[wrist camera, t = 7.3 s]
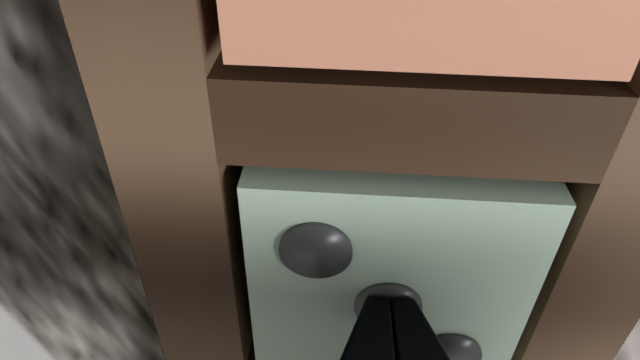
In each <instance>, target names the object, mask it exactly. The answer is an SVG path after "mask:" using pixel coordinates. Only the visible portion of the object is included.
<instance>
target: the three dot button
mask: <svg viewBox="0 0 640 360" xmlns="http://www.w3.org/2000/svg"><path fill="white" fill-rule="evenodd" d="M237 194H238V204H239V213H240V222H241V231H242V240H243V250H244V259H245V268H246V277H247V286H248V296H249V305H250V314H251V323H252V332H253V342H254V351H255V360H340V357H341V355H342V353H343V350H344V348H345V346H346V343H347V341H348V338H349V336H350V334H351V331H352V329H353V327H354V324H355V322H356V320H357V317H358V315H359V312H360V310H361V308H362V305H363V303H364V301H365V298H366V297H367V296H368V295H383V296H388V297H389V298H390V299H391V298H392V297H394V296H399V297H411V298H414V299H415V300H416V302H417V303H418V305H419V307H420V308H421V310H422V312H423V313H424V315H425V317H426V318H427V320H428V322H429V324H430V325H431V327H432V329H433V330H434V332H435V334H436V336H437V337H438V339H439V341H440V342H441V344H442V346H443V348H444V349H445V351H446V353H447V354H448V356H449V358H450V359H451V360H511V358H512V356H513V353H514V351H515V349H516V346H517V344H518V342H519V339H520V337H521V335H522V332H523V330H524V328H525V325H526V323H527V321H528V318H529V316H530V314H531V311H532V309H533V307H534V304H535V302H536V300H537V297H538V295H539V293H540V290H541V288H542V286H543V283H544V281H545V279H546V276H547V274H548V272H549V269H550V267H551V264H552V262H553V260H554V257H555V255H556V253H557V250H558V248H559V246H560V243H561V241H562V239H563V236H564V234H565V232H566V229H567V227H568V225H569V222H570V220H571V218H572V215H573V213H574V211H575V208H576V204H575V202H574V200H573V198H572V196H571V194H570V192H569V190H568V188H567V186H566V184H565V182H552V181H532V180H513V179H493V178H473V177H454V176H434V175H414V174H394V173H375V172H355V171H335V170H316V169H296V168H276V167H256V166H243V170H242V173H241V176H240V179H239V183H238V186H237Z"/></svg>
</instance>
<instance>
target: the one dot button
mask: <svg viewBox="0 0 640 360" xmlns="http://www.w3.org/2000/svg"><path fill="white" fill-rule="evenodd" d="M216 2H217V12H218V21H219V30H220V39H221V48H222V58H223V64H225V65H249V66H272V67H296V68H319V69H343V70H366V71H390V72H413V73H437V74H460V75H484V76H507V77H531V78H554V79H578V80H601V81H625V82H630V81H631V78H632V76H633V74H634V71H635V69H636V66H637V64H638V62H639V59H640V0H216Z"/></svg>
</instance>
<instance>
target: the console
mask: <svg viewBox="0 0 640 360" xmlns="http://www.w3.org/2000/svg"><path fill="white" fill-rule="evenodd" d="M58 1H59V5H60V8H61V11H62V15H63V18H64V22H65V25H66V28H67V32H68V35H69V38H70V42H71V45H72V48H73V52H74V55H75V58H76V62H77V65H78V69H79V72H80V75H81V79H82V82H83V85H84V89H85V92H86V95H87V99H88V102H89V105H90V109H91V112H92V115H93V119H94V122H95V126H96V129H97V132H98V136H99V139H100V142H101V146H102V149H103V152H104V156H105V159H106V162H107V166H108V169H109V173H110V176H111V179H112V183H113V186H114V189H115V193H116V196H117V199H118V203H119V206H120V209H121V213H122V216H123V219H124V223H125V226H126V230H127V233H128V236H129V240H130V243H131V246H132V250H133V253H134V256H135V260H136V263H137V266H138V270H139V273H140V277H141V280H142V283H143V287H144V290H145V293H146V297H147V300H148V303H149V307H150V310H151V313H152V317H153V320H154V323H155V327H156V330H157V334H158V337H159V340H160V344H161V347H162V350H163V354H164V357H165V360H255V351H254V342H253V332H252V323H251V314H250V305H249V296H248V286H247V277H246V268H245V259H244V250H243V240H242V231H241V222H240V213H239V204H238V194H237V186H238V183H239V179H240V176H241V173H242V170H243V166H256V167H276V168H296V169H316V170H335V171H355V172H375V173H394V174H414V175H434V176H454V177H473V178H493V179H513V180H532V181H552V182H565V184H566V186H567V188H568V190H569V192H570V194H571V196H572V198H573V200H574V202H575V204H576V208H575V211H574V213H573V215H572V218H571V220H570V222H569V225H568V227H567V229H566V232H565V234H564V236H563V239H562V241H561V243H560V246H559V248H558V250H557V253H556V255H555V257H554V260H553V262H552V264H551V267H550V269H549V272H548V274H547V276H546V279H545V281H544V283H543V286H542V288H541V290H540V293H539V295H538V297H537V300H536V302H535V304H534V307H533V309H532V311H531V314H530V316H529V318H528V321H527V323H526V325H525V328H524V330H523V332H522V335H521V337H520V339H519V342H518V344H517V346H516V349H515V351H514V353H513V356H512V358H511V360H613V359H614V357H615V356H616V354H617V353H618V351H619V349H620V348H621V346H622V345H623V343H624V342H625V340H626V339H627V337H628V335H629V334H630V332H631V331H632V329H633V328H634V326H635V325H636V323H637V321H638V320H639V318H640V59H639V62H638V64H637V66H636V69H635V71H634V74H633V76H632V78H631V81H630V82H625V81H601V80H578V79H554V78H531V77H507V76H484V75H460V74H437V73H413V72H390V71H366V70H343V69H319V68H296V67H272V66H249V65H225V64H223V58H222V48H221V39H220V30H219V21H218V12H217V2H216V0H58Z"/></svg>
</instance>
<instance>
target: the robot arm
mask: <svg viewBox="0 0 640 360" xmlns="http://www.w3.org/2000/svg"><path fill="white" fill-rule="evenodd" d="M340 360H451V359H450V358H449V356H448V354H447V353H446V351H445V349H444V348H443V346H442V344H441V342H440V341H439V339H438V337H437V336H436V334H435V332H434V330H433V329H432V327H431V325H430V324H429V322H428V320H427V318H426V317H425V315H424V313H423V312H422V310H421V308H420V307H419V305H418V303H417V302H416V300H415V299H414V298H411V297H399V296H394V297H392V298H391V299H390V298H389V297H388V296H383V295H368V296H367V297H366V298H365V301H364V303H363V305H362V308H361V310H360V312H359V315H358V317H357V320H356V322H355V324H354V327H353V329H352V331H351V334H350V336H349V338H348V341H347V343H346V346H345V348H344V350H343V353H342V355H341V357H340Z"/></svg>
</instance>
